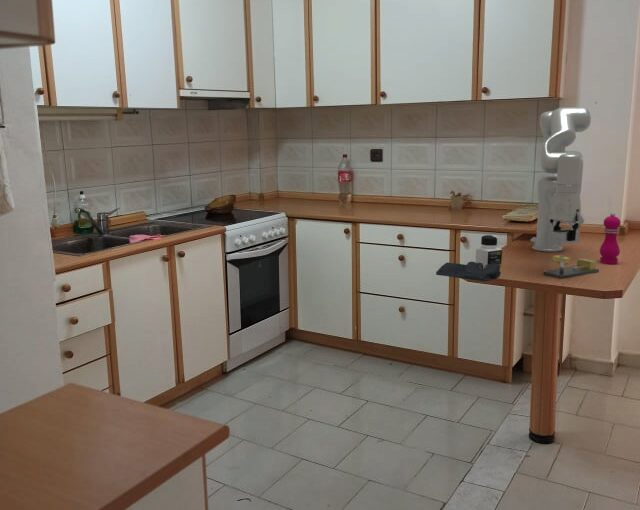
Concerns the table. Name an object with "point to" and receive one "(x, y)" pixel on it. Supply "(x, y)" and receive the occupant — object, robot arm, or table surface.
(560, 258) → the block
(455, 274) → the dark grey cloth
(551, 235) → the link
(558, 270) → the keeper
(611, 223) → the pepper mill
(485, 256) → the medicine bottle
